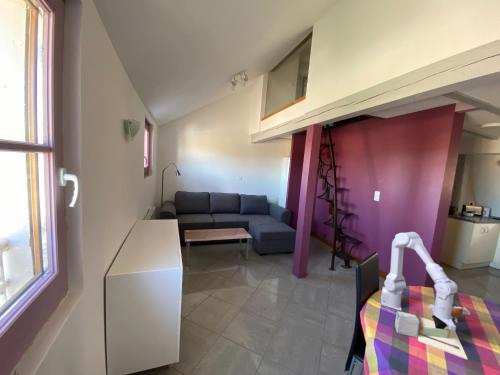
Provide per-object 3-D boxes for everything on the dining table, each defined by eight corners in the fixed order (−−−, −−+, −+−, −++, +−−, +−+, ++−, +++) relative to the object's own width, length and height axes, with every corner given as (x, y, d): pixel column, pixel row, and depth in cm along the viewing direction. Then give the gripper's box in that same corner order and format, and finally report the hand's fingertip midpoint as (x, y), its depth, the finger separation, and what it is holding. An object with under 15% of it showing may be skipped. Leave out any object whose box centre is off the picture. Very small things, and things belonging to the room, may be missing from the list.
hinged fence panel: (419, 334, 98) (420, 327, 98) (416, 332, 100) (417, 324, 99) (449, 338, 96) (451, 331, 96) (447, 335, 98) (448, 328, 98)
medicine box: (413, 331, 101) (415, 314, 100) (417, 338, 97) (419, 321, 96) (394, 326, 103) (396, 310, 102) (397, 333, 99) (399, 316, 98)
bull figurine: (470, 325, 106) (473, 310, 105) (439, 320, 109) (442, 306, 108) (463, 319, 111) (466, 305, 110) (434, 314, 113) (436, 300, 112)
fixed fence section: (417, 331, 100) (418, 324, 100) (414, 317, 110) (415, 309, 110) (421, 333, 99) (422, 325, 99) (417, 318, 109) (418, 311, 109)
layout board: (418, 341, 95) (418, 340, 95) (412, 315, 112) (413, 314, 112) (467, 359, 87) (467, 358, 87) (453, 329, 104) (453, 327, 103)
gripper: (465, 318, 90) (460, 347, 91) (442, 297, 104) (438, 322, 105) (446, 315, 91) (442, 344, 92) (425, 295, 105) (422, 320, 107)
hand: (438, 332), depth 99 cm, fingers closed
